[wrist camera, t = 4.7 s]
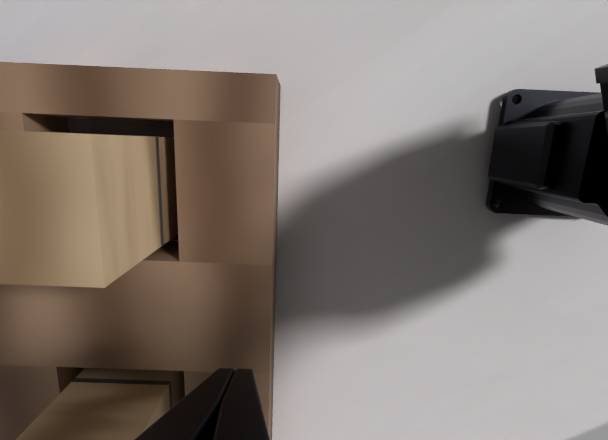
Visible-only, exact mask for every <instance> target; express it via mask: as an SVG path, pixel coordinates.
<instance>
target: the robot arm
mask: <svg viewBox="0 0 608 440" xmlns="http://www.w3.org/2000/svg"><path fill="white" fill-rule="evenodd" d="M595 76H596V83H600V86H601V93H594V92H571V91H549V90H527V89H516V90H512V91H509V92H508V93H506V94H505V96H504V98H503V102H502V108H501V114H500V120H499V127H498V128H497V129H496V130H495V135H494V141H493V147H492V154H491V160H490V166H489V172H488V176H489V177H490V182H489V188H488V195H487V201H486V206H487V208H488V210H490V211H492V212H495V213H505V214H530V215H555V216H575V217H578V218H582V219H586V220H589V221H593V222H597V223H600V224H604V225H608V64H607V65H604V66H601V67H598V68H595ZM513 96H516V97H517V102H516V104H513V102H512V98H513ZM497 200H499V202H500V203H499V206H497V207H495V206H494V204H495V202H496V201H497ZM134 440H270V437H269V433H268V429H267V425H266V421H265V417H264V413H263V409H262V405H261V401H260V397H259V393H258V389H257V385H256V381H255V377H254V373H253V370H252V369H244V368H238V369H236V370H235V369H234V368H218V369H217V370H216V371H215V372H213V373H212V374H211V375H210V376H209V377H207V378H206V379H205V380H204V381H203V382H202V383H200V384H199V385H198V386H197V387H196V388H194V389H193V390H192V391H191V392H190V393H189V394H187V395H186V396H185V397H184V398H183V399H181V400H180V401H179V402H178V403H177V404H176V405H174V406H173V407H172V408H171V409H170V410H169V411H167V412H166V413H165V414H164V415H163V416H161V417H160V418H159V419H158V420H157V421H156V422H154V423H153V424H152V425H151V426H150V427H148V428H147V429H146V430H145V431H144V432H143V433H141V434H140V435H139V436H138V437H137V438H135V439H134Z"/></svg>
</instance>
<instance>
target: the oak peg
mask: <svg viewBox="0 0 608 440" xmlns="http://www.w3.org/2000/svg"><path fill="white" fill-rule="evenodd" d="M184 397H185V385H184V371H167V370H137V369H107V368H84V369H83V370H82V371H81V372H80V374H79V375H78V376H77V377H76V378H74V379H73V380H72V381H71V383H70V384H69V385H68V386H67V387H66V388H65V389H64V390H63V391H62V392H61V393H60V394H59V395H58V396H57V397H56V398H55V399H54V400H53V401H52V402H51V403H50V405H49V406H48V407H47V408H46V409H45V410H44V411H43V412H42V413H41V414H40V415H39V416H38V417H37V418H36V419H35V420H34V421H33V422H32V423H31V424H30V425H29V426H28V427H27V428H26V429H25V430H24V431H23V432H22V433H21V434H20V436H19V437H18V438H17V439H16V440H134V439H135V438H137V437H138V436H139V435H140V434H141V433H143V432H144V431H145V430H146V429H147V428H148V427H150V426H151V425H152V424H153V423H154V422H156V421H157V420H158V419H159V418H160V417H161V416H163V415H164V414H165V413H166V412H167V411H169V410H170V409H171V408H172V407H173V406H174V405H176V404H177V403H178V402H179V401H180V400H181V399H183V398H184Z"/></svg>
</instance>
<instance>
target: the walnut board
mask: <svg viewBox="0 0 608 440" xmlns="http://www.w3.org/2000/svg"><path fill="white" fill-rule="evenodd" d="M67 118H85V119H109V120H132V121H155V122H174V138H173V137H158V136H136V135H112V134H89V133H68V124H67ZM279 123H280V83H279V81H278V78H277V75H276V74H256V73H233V72H211V71H189V70H167V69H144V68H122V67H100V66H78V65H55V64H33V63H11V62H0V440H16V439H17V438H18V437H19V436H20V434H21V433H22V432H23V431H24V430H25V429H26V428H27V427H28V426H29V425H30V424H31V423H32V422H33V421H34V420H35V419H36V418H37V417H38V416H39V415H40V414H41V413H42V412H43V411H44V410H45V409H46V408H47V407H48V406H49V405H50V403H51V402H52V401H53V400H54V399H55V398H56V397H57V396H58V395H59V394H60V393H61V392H62V391H63V390H64V389H65V388H66V387H67V386H68V385H69V384H70V383H71V381H72V380H73V379H74V378H76V377H77V376H78V375H79V374H80V372H81V371H82V370H83V369H84V368H107V369H137V370H167V371H184V385H185V396H186V395H187V394H189V393H190V392H191V391H192V390H193V389H194V388H196V387H197V386H198V385H199V384H200V383H202V382H203V381H204V380H205V379H206V378H207V377H209V376H210V375H211V374H212V373H213V372H215V371H216V370H217V369H218V368H234V369H235V370H236V369H238V368H244V369H252V370H253V373H254V377H255V381H256V385H257V389H258V393H259V397H260V401H261V405H262V409H263V413H264V417H265V421H266V425H267V429H268V433H269V437H270V440H272V409H273V368H274V327H275V286H276V245H277V204H278V163H279ZM176 235H178V241H179V243H167V242H168V241H169V240H171V239H172V238H173V237H175V236H176Z"/></svg>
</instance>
